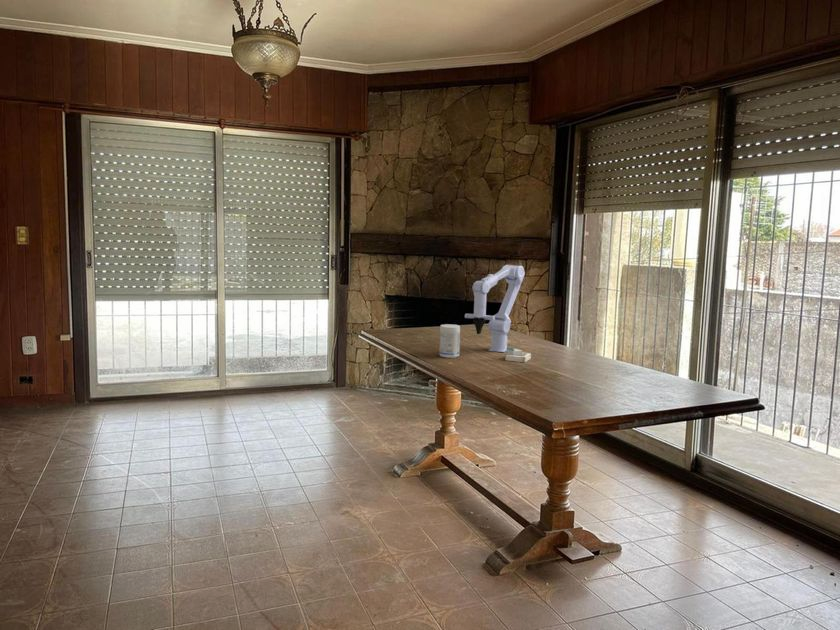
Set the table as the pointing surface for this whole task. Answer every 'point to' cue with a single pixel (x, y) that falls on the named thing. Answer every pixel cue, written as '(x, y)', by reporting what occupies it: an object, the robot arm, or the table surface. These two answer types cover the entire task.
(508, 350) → the white box with knobs
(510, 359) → the bay
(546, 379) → the table surface
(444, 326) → the supplement tub
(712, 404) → the table surface
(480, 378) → the table surface
